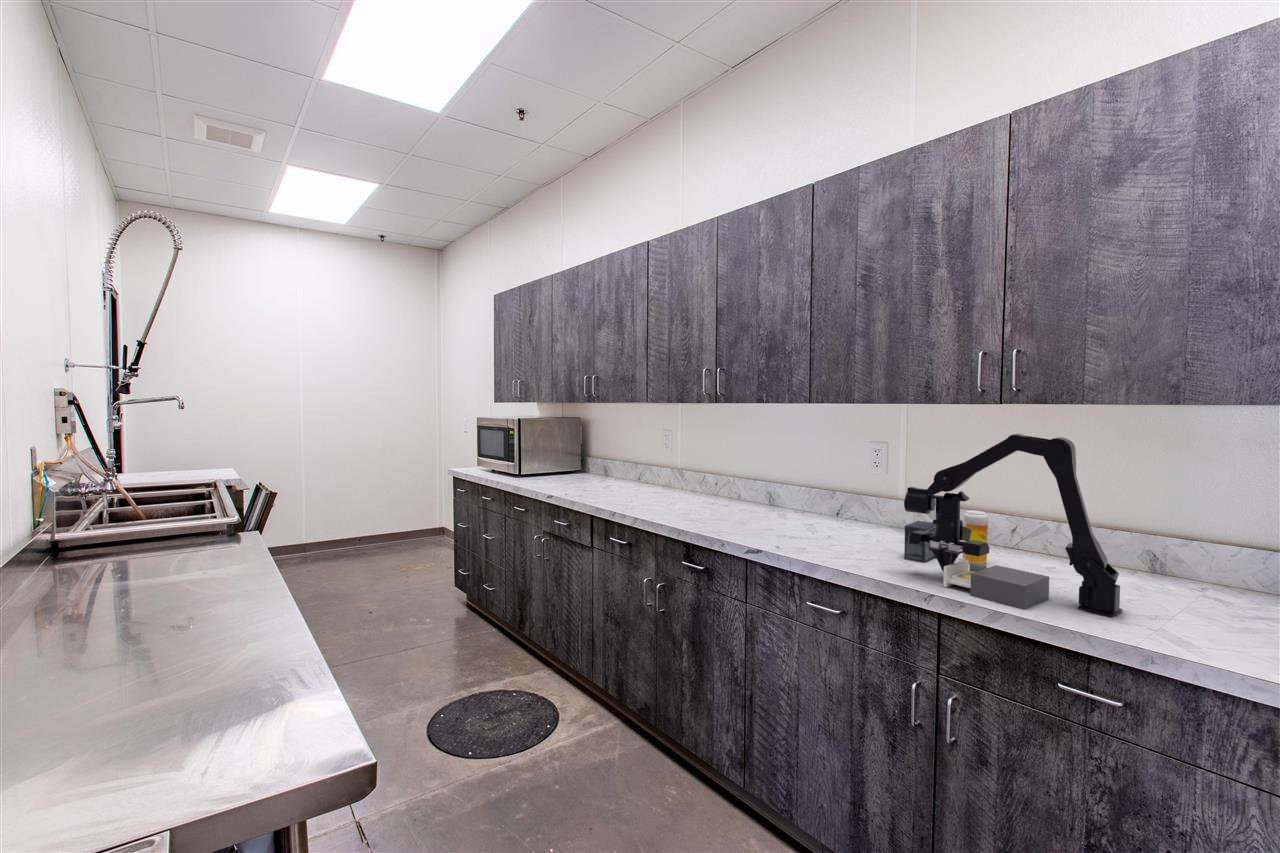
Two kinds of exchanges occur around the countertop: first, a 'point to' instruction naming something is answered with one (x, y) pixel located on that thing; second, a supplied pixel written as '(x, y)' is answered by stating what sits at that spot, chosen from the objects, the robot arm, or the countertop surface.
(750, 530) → the countertop surface
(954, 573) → the tray
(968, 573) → the disc
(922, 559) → the small box
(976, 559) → the beer can
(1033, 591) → the block
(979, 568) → the puck
